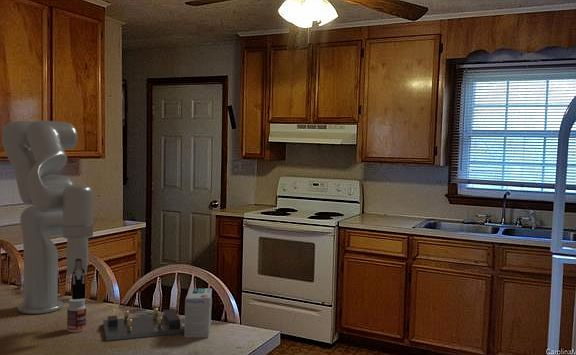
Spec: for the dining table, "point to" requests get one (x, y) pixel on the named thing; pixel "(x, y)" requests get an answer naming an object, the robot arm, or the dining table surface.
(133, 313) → the dining table surface
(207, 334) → the light bulb box
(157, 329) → the chassis
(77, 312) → the pill bottle
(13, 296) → the dining table surface
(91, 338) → the dining table surface
